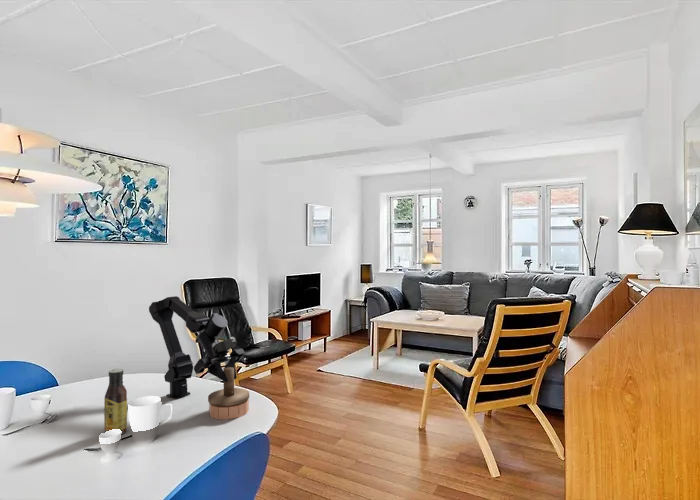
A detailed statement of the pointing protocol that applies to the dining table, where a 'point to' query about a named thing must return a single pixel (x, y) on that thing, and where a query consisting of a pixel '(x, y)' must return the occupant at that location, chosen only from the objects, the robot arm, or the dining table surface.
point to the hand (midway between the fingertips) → (231, 380)
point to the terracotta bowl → (229, 410)
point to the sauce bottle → (115, 402)
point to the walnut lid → (228, 392)
